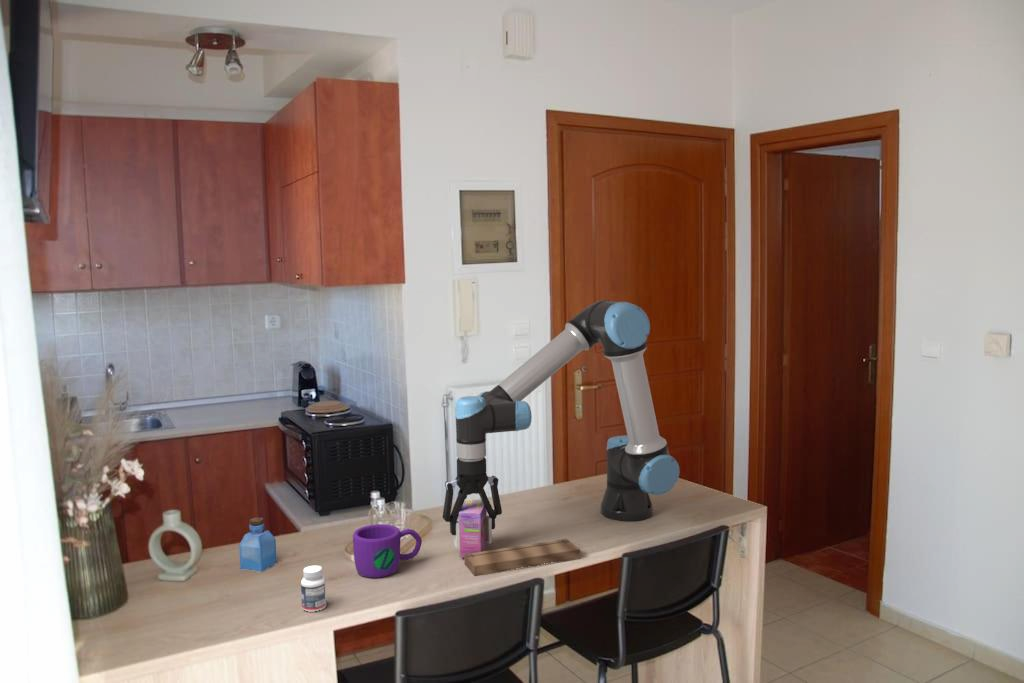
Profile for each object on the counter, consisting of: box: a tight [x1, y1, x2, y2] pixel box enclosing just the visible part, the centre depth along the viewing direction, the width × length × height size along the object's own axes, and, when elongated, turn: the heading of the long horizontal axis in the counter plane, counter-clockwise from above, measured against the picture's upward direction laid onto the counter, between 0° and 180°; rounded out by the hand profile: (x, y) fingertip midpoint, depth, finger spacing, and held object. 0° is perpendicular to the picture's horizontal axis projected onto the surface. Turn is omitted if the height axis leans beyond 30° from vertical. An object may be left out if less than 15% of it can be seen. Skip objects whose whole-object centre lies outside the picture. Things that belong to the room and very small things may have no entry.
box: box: [458, 499, 488, 559], centre depth 205 cm, size 10×6×12 cm, turn 173°
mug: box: [352, 523, 423, 579], centre depth 196 cm, size 17×11×10 cm, turn 119°
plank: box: [463, 538, 581, 577], centre depth 200 cm, size 28×8×3 cm, turn 111°
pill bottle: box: [300, 564, 327, 613], centre depth 175 cm, size 5×5×9 cm
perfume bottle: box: [238, 517, 278, 572], centre depth 198 cm, size 6×6×12 cm
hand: (473, 543), depth 205 cm, fingers closed on box, 8 cm apart
